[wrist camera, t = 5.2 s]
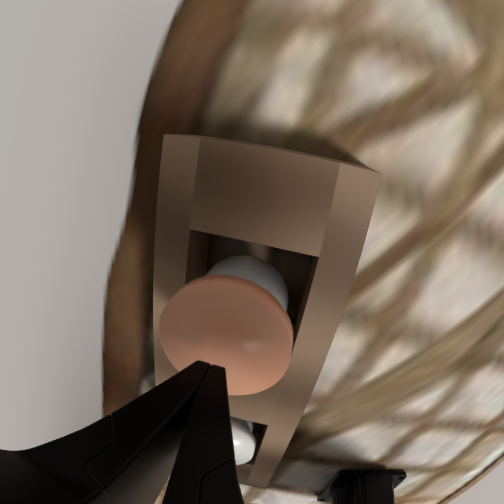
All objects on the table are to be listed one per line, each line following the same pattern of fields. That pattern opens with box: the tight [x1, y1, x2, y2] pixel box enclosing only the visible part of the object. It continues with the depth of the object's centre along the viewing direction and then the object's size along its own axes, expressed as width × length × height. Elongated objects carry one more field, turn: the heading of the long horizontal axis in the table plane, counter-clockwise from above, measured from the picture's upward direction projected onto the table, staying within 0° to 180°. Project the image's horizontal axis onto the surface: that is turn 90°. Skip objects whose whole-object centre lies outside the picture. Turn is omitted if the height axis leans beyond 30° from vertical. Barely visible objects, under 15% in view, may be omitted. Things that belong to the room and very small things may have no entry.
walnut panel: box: [153, 134, 382, 489], centre depth 16 cm, size 22×8×3 cm, turn 171°
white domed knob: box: [231, 416, 256, 465], centre depth 17 cm, size 4×4×4 cm
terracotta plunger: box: [159, 255, 293, 395], centre depth 11 cm, size 4×4×4 cm
